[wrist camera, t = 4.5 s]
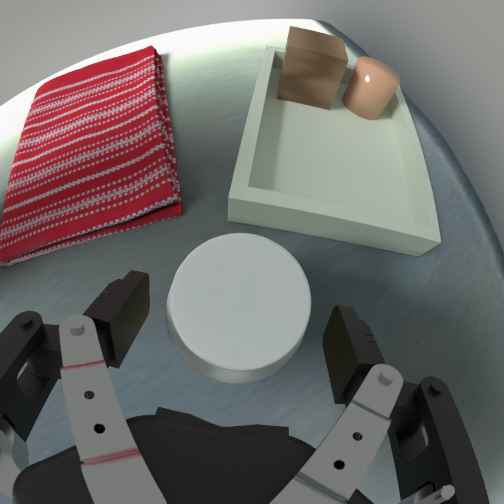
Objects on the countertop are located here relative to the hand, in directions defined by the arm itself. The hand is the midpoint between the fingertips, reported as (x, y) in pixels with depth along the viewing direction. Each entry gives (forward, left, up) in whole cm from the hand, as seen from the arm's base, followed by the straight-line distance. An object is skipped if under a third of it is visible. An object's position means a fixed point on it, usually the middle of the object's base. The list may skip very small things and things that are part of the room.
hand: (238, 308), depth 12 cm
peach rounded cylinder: (+9, +22, -5) cm, 24 cm away
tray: (+6, +17, -5) cm, 18 cm away
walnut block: (+3, +22, -5) cm, 23 cm away
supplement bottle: (0, 0, -6) cm, 6 cm away
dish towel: (-17, +14, -6) cm, 23 cm away
